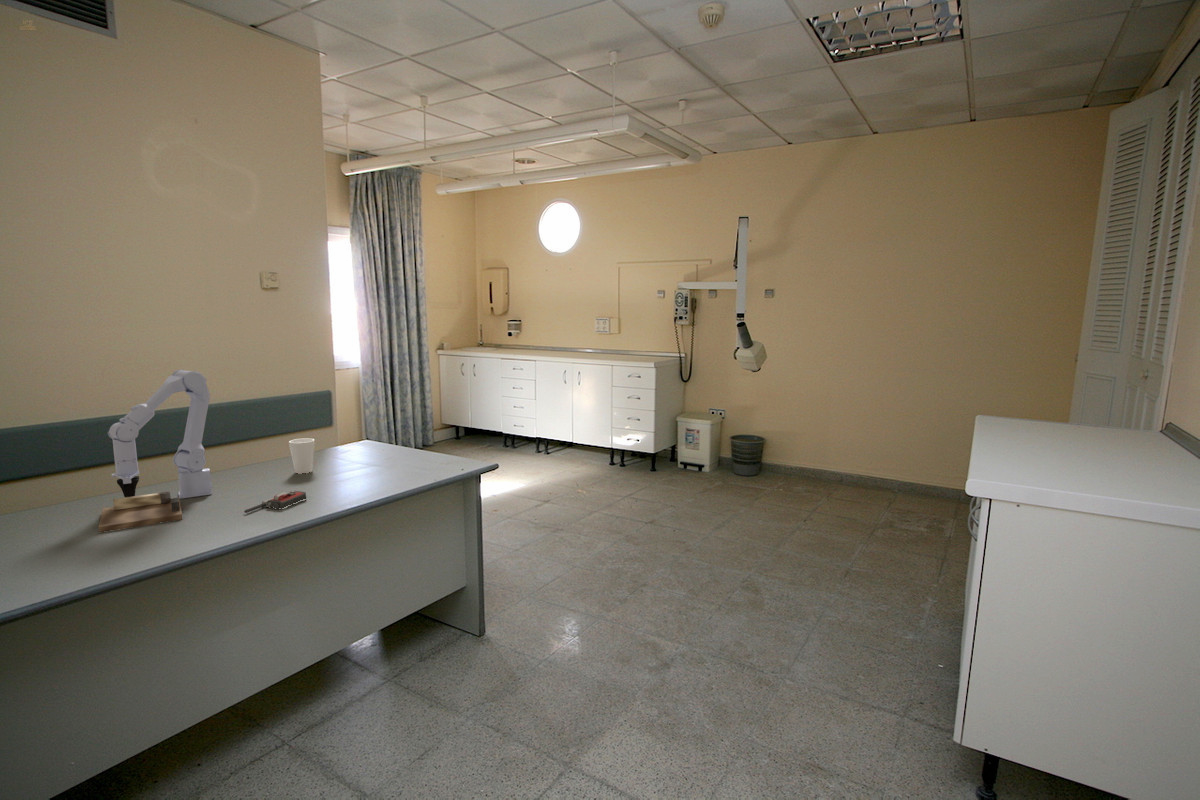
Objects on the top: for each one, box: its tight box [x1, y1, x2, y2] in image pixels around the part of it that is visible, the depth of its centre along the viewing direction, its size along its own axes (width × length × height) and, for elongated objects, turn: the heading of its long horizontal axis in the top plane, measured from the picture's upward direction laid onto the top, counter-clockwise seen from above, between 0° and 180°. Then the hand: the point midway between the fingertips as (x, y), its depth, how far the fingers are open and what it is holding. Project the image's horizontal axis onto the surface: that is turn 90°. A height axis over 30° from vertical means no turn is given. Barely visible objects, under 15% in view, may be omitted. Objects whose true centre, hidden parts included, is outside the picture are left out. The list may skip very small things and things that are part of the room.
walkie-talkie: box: [243, 490, 307, 514], centre depth 199 cm, size 9×4×20 cm
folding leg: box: [112, 491, 172, 510], centre depth 191 cm, size 15×3×3 cm, turn 127°
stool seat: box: [98, 497, 183, 533], centre depth 187 cm, size 20×20×5 cm
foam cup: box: [288, 437, 316, 475], centre depth 240 cm, size 10×9×13 cm
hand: (130, 499), depth 193 cm, fingers closed
